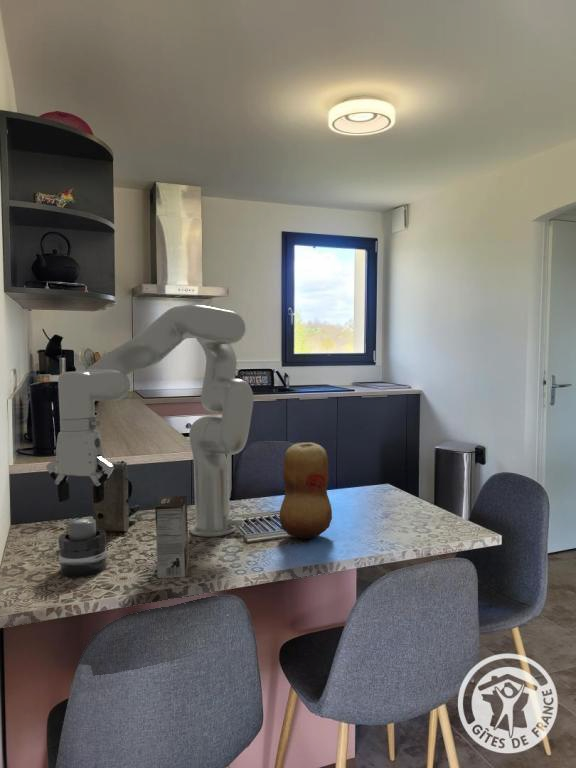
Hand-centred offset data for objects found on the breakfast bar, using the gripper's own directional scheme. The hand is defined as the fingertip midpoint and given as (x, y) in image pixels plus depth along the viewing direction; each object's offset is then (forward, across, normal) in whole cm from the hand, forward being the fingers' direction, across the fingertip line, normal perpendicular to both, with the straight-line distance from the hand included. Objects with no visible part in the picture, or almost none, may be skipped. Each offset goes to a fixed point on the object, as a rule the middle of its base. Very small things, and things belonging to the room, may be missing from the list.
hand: (81, 501), depth 133 cm
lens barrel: (+16, 0, 0) cm, 16 cm away
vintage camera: (+16, +10, -33) cm, 38 cm away
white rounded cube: (+10, 0, 0) cm, 10 cm away
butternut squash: (+16, -46, -31) cm, 58 cm away
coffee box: (+16, -21, -3) cm, 27 cm away
